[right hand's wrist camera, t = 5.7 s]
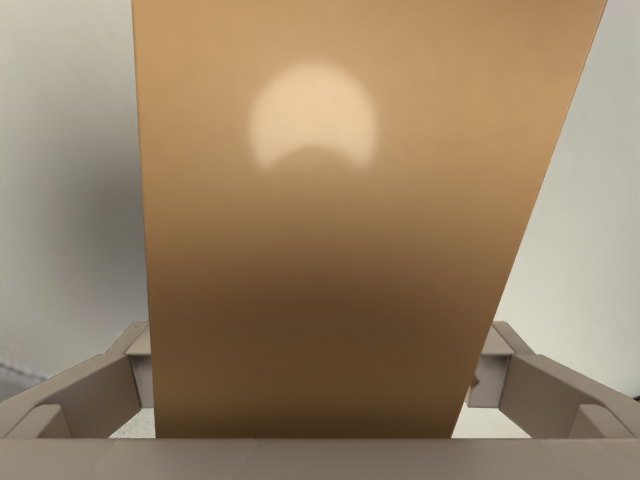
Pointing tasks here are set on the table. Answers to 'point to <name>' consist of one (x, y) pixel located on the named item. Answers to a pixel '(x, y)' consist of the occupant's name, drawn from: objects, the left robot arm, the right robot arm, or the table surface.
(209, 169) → the bar
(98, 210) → the table surface
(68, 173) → the table surface
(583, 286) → the table surface
